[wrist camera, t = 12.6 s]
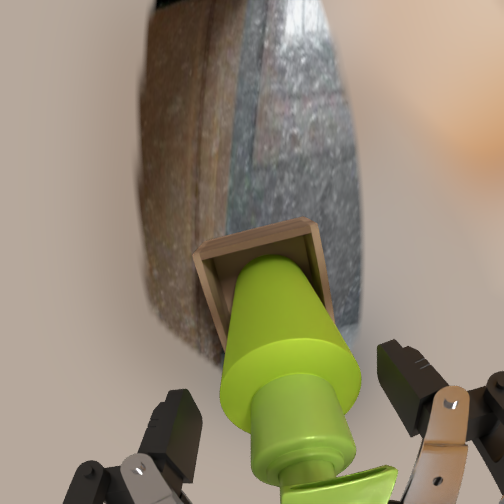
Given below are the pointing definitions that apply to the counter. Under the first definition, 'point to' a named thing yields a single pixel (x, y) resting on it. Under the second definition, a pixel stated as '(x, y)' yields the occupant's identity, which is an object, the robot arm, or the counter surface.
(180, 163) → the counter surface
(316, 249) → the walnut caddy
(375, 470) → the soap dispenser
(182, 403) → the robot arm
